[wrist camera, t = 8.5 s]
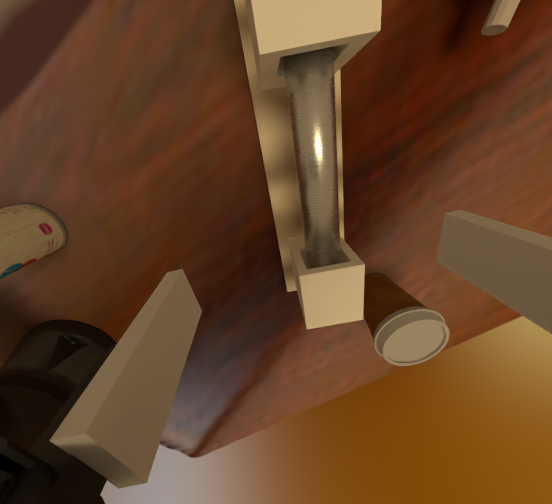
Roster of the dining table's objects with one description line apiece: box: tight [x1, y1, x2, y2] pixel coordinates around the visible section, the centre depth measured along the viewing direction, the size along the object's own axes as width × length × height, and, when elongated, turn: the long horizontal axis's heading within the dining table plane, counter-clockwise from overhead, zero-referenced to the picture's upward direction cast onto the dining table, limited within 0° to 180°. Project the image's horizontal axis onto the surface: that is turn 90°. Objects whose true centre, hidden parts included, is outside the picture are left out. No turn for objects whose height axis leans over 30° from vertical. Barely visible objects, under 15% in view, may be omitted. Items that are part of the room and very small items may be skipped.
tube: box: [283, 47, 341, 269], centre depth 20 cm, size 24×4×4 cm, turn 10°
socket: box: [245, 0, 382, 91], centre depth 17 cm, size 7×8×11 cm
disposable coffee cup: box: [363, 273, 449, 366], centre depth 32 cm, size 10×10×12 cm
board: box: [234, 0, 344, 292], centre depth 28 cm, size 37×10×1 cm, turn 10°
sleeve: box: [288, 235, 365, 329], centre depth 29 cm, size 8×7×11 cm
